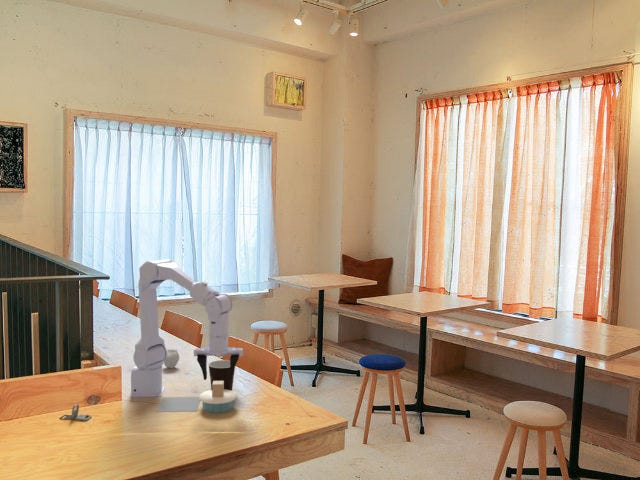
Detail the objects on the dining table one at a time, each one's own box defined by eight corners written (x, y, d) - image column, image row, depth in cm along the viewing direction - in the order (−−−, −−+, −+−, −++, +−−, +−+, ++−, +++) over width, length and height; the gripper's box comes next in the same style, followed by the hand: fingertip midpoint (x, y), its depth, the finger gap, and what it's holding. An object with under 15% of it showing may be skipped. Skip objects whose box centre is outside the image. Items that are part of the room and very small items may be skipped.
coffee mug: (229, 399, 177) (229, 369, 176) (204, 397, 179) (204, 366, 178) (241, 387, 188) (242, 358, 188) (217, 385, 190) (218, 356, 189)
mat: (155, 413, 165) (155, 411, 165) (163, 398, 177) (163, 397, 177) (196, 412, 166) (196, 411, 166) (201, 397, 178) (201, 396, 178)
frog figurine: (182, 365, 211) (182, 347, 211) (175, 370, 205) (175, 352, 204) (166, 364, 212) (166, 346, 212) (159, 370, 205) (159, 351, 205)
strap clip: (92, 418, 161) (92, 404, 161) (86, 422, 158) (86, 407, 158) (64, 416, 162) (64, 402, 162) (58, 420, 159) (58, 406, 158)
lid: (197, 404, 163) (197, 388, 163) (201, 391, 174) (201, 376, 174) (235, 403, 164) (235, 388, 164) (237, 390, 175) (237, 376, 175)
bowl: (201, 414, 165) (201, 402, 164) (204, 403, 174) (204, 392, 173) (231, 413, 166) (232, 402, 165) (233, 402, 174) (233, 391, 174)
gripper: (192, 338, 163) (192, 383, 164) (242, 338, 165) (241, 383, 166) (195, 332, 170) (195, 375, 171) (243, 332, 172) (242, 375, 173)
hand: (218, 378), depth 169 cm, fingers open, 7 cm apart
